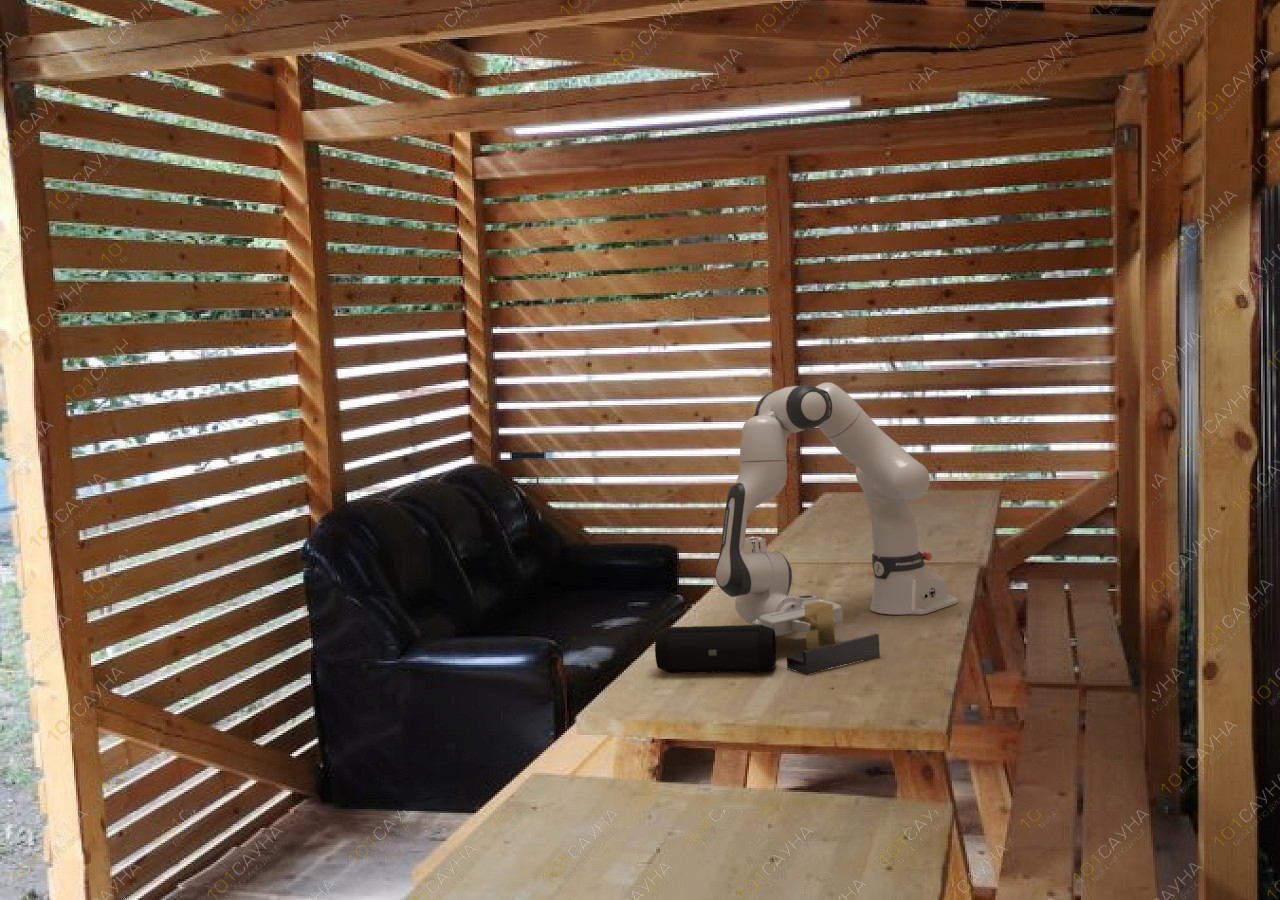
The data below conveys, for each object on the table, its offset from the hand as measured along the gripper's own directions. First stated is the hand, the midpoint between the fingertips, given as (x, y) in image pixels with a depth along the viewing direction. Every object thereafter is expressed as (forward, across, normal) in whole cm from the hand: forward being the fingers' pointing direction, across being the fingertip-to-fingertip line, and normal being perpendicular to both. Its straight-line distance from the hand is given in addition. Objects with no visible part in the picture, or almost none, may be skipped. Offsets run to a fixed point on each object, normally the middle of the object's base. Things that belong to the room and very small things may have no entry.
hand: (822, 625), depth 299 cm
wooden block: (-1, 0, +6) cm, 6 cm away
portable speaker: (-7, -24, +7) cm, 26 cm away
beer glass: (-63, +26, +7) cm, 69 cm away
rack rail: (+6, -2, +7) cm, 9 cm away
